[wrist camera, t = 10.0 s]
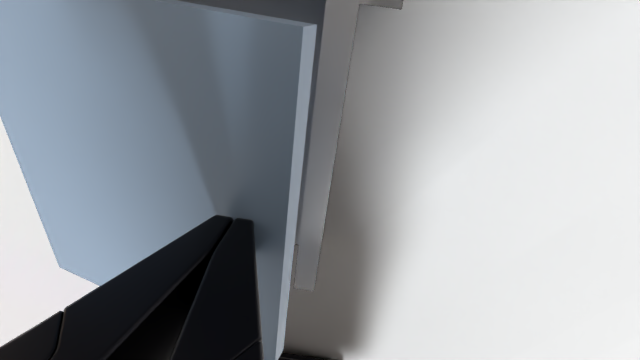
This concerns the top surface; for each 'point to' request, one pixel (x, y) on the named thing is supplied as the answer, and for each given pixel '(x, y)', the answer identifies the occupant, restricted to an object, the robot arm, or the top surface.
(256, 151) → the panel
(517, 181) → the top surface
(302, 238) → the grey tray
